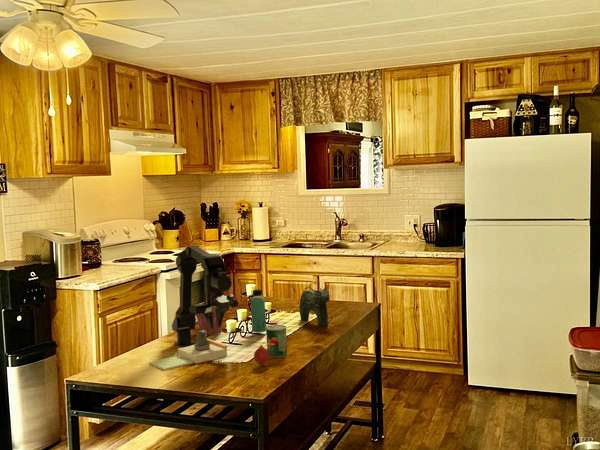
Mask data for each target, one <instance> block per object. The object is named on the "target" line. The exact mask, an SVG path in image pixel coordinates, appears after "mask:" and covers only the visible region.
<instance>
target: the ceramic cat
mask: <svg viewBox="0 0 600 450" xmlns="http://www.w3.org/2000/svg"><path fill="white" fill-rule="evenodd" d="M312 284H313V285H315V284H316V285H317V286H316V287H317V289H313V288H312V287H310V286H309V287H308V286H307V287H305V288H304V289H303V291H302V293H301V295H300V300H299V316H300V321H301V322H302V321H303V322H308V321H309V319H310V312H314V314H315V315H316V319H317V326H320V327H325V326H326V327H327V326H328V325H329V321H328V320H329V316H328V308H327V303H328V302H330V300H331V299H330V298H331V295H330V292H329V291H328V288H327V287H324V288H322V287H319V286H318V282H317V281H314V282H313V283H312ZM307 289H308V290H307Z"/></svg>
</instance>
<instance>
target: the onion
mask: <svg viewBox="0 0 600 450" xmlns="http://www.w3.org/2000/svg"><path fill="white" fill-rule="evenodd" d="M270 358H271V357H270V356H269V352H268V350H267V347H264V346H263V345H262V344H260V345H259V347H258V348H257V349H256V350H255V351H254V352H253V359H254V362H255V363H257V365H259V366H260V367H264V366H265V365H266V364H267V363H268V362H269V360H270Z"/></svg>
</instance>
